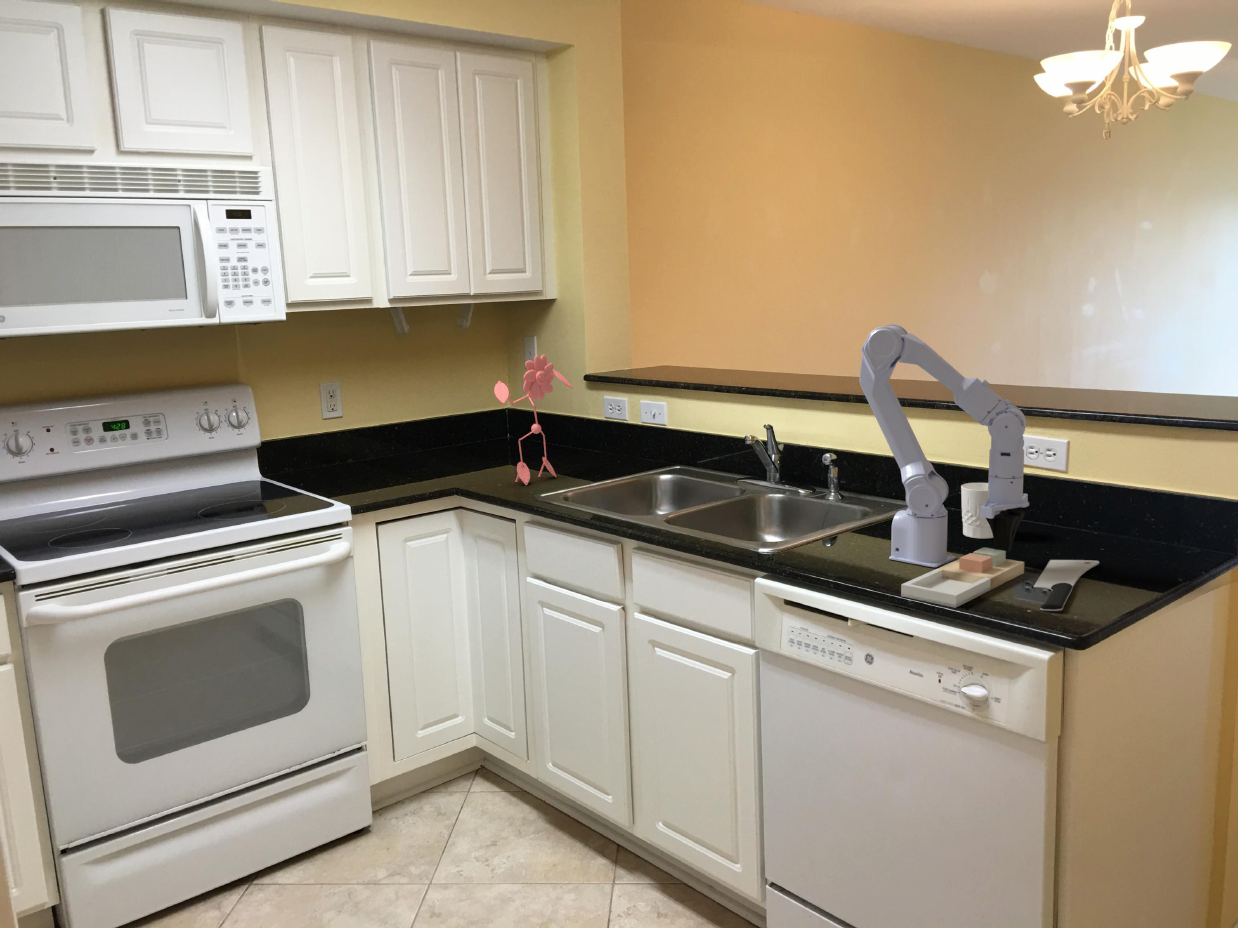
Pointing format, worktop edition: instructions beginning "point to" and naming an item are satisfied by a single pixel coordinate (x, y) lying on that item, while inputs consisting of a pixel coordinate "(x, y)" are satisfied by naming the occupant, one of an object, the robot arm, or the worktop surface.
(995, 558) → the sage tile
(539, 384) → the figurine
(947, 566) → the wooden board
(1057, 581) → the kitchen cleaver
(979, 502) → the white cup
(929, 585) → the grey tray
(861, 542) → the worktop surface
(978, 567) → the terracotta tile
